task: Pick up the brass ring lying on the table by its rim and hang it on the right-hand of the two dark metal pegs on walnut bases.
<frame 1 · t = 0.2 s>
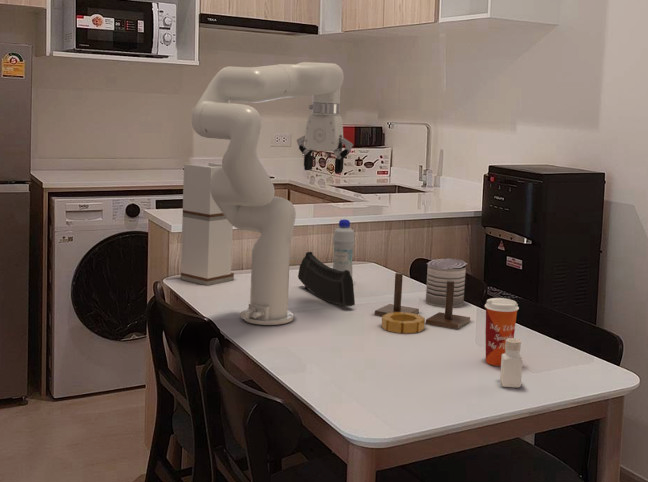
hand: (323, 171, 229), 37 cm above the table, tool pointing down, fingers open, 9 cm apart
can: (444, 303, 238), on the table
ring: (402, 327, 210), on the table
banded square column: (207, 280, 250), on the table
salt shaker: (510, 385, 172), on the table
left peg: (396, 314, 223), on the table
bottle: (341, 283, 256), on the table
paper cup: (498, 362, 186), on the table
right peg: (448, 322, 217), on the table
magazine: (324, 298, 236), on the table
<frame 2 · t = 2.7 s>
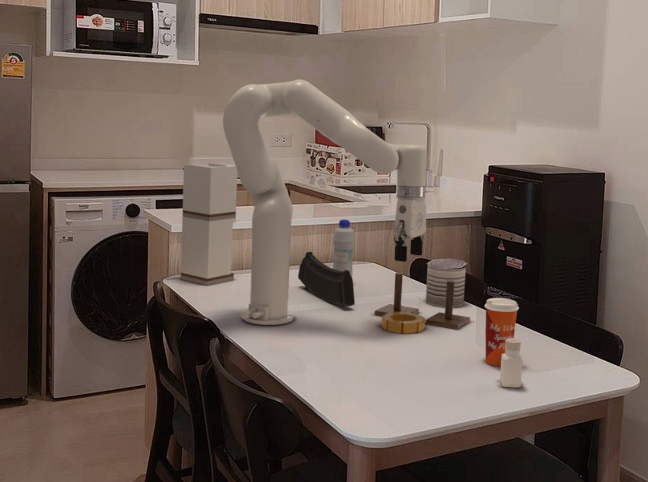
hand: (408, 257, 213), 17 cm above the table, tool pointing down, fingers open, 9 cm apart
nothing on the table moved.
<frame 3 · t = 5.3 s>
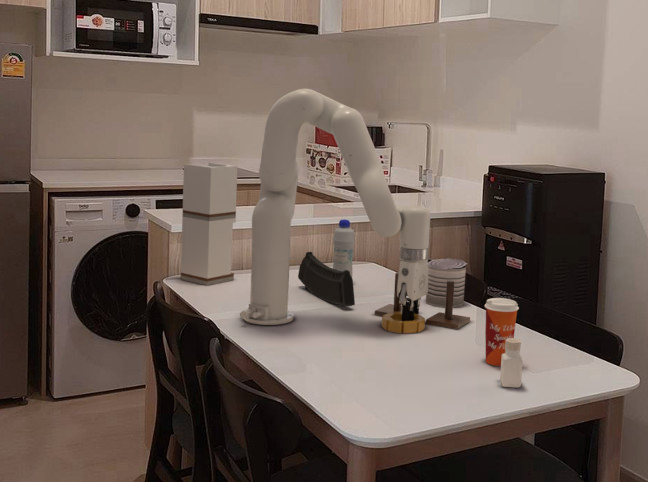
hand: (409, 323, 214), 0 cm above the table, tool pointing down, fingers closed on ring, 2 cm apart
ring: (403, 327, 210), on the table, touching gripper
everything else where it was.
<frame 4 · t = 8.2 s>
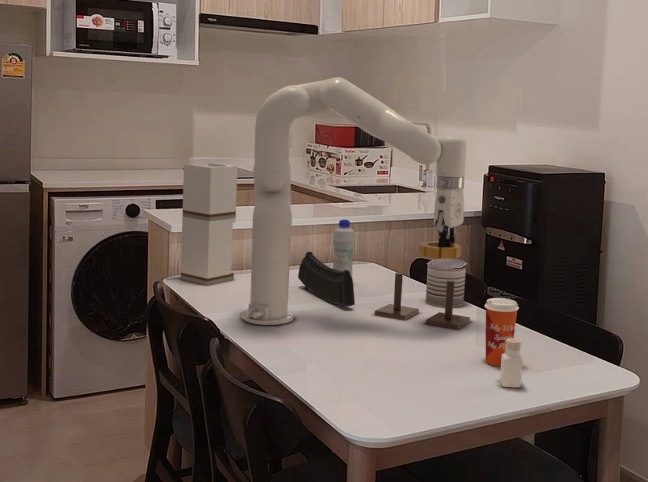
hand: (446, 251, 217), 19 cm above the table, tool pointing down, fingers closed on ring
ring: (439, 254, 213), point 18 cm above the table, touching gripper
everything else where it was.
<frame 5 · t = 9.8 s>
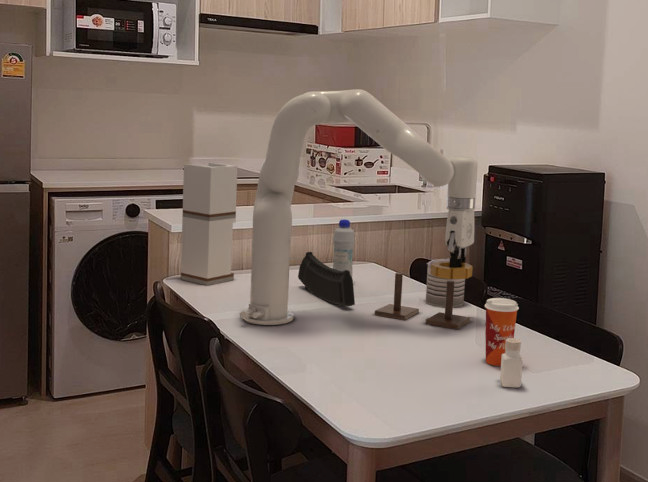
hand: (457, 271, 219), 13 cm above the table, tool pointing down, fingers closed on ring
ring: (451, 274, 216), point 13 cm above the table, touching gripper
everything else where it was.
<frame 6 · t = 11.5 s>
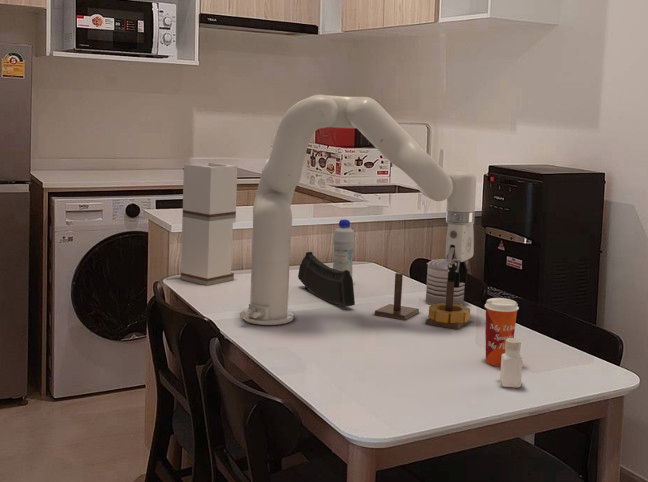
hand: (457, 283, 221), 9 cm above the table, tool pointing down, fingers open, 5 cm apart
ring: (449, 317, 217), point 1 cm above the table, touching right peg
everything else where it was.
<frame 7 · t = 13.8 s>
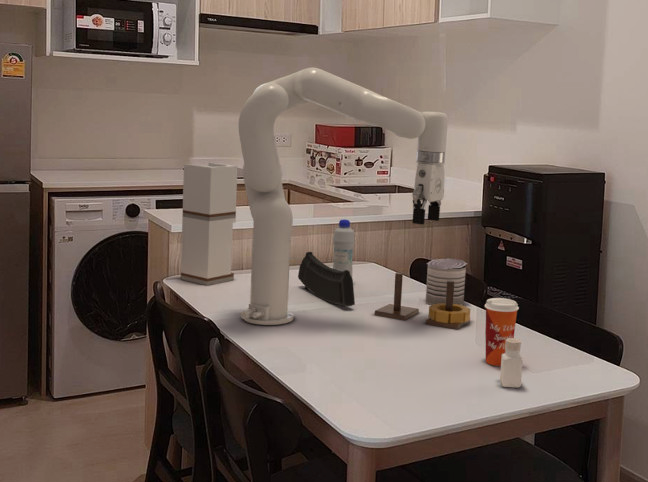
hand: (425, 221, 220), 26 cm above the table, tool pointing down, fingers open, 9 cm apart
nothing on the table moved.
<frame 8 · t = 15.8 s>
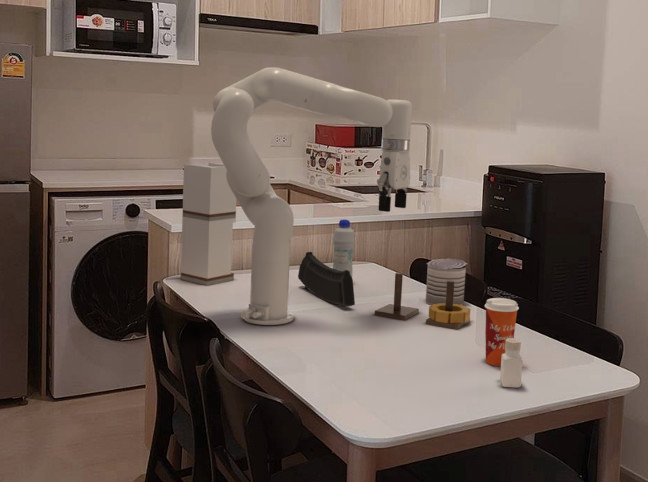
hand: (392, 209, 221), 28 cm above the table, tool pointing down, fingers open, 9 cm apart
nothing on the table moved.
at the end: ring 0.6 cm from the right peg (horizontally); ring point 1.2 cm above the table; the gripper is holding nothing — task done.
